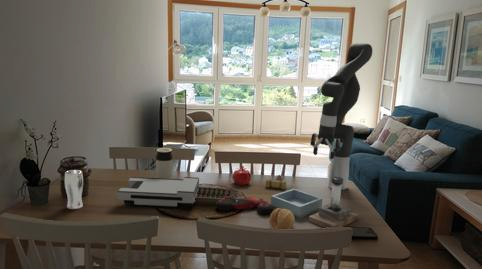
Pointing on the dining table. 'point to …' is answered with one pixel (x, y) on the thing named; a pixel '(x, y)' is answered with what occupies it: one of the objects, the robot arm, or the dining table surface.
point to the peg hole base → (333, 217)
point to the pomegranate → (241, 176)
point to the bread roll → (281, 219)
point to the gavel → (276, 183)
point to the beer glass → (74, 188)
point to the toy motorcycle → (244, 204)
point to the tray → (297, 202)
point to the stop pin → (336, 193)
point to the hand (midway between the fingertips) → (323, 156)
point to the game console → (160, 192)
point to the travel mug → (164, 163)
